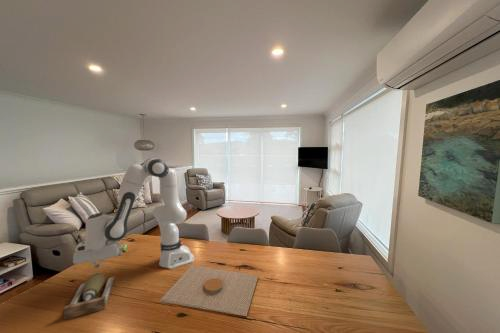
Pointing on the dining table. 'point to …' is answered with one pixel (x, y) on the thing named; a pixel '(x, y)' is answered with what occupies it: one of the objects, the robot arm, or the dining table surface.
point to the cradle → (87, 302)
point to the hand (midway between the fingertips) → (97, 267)
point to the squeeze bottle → (93, 286)
